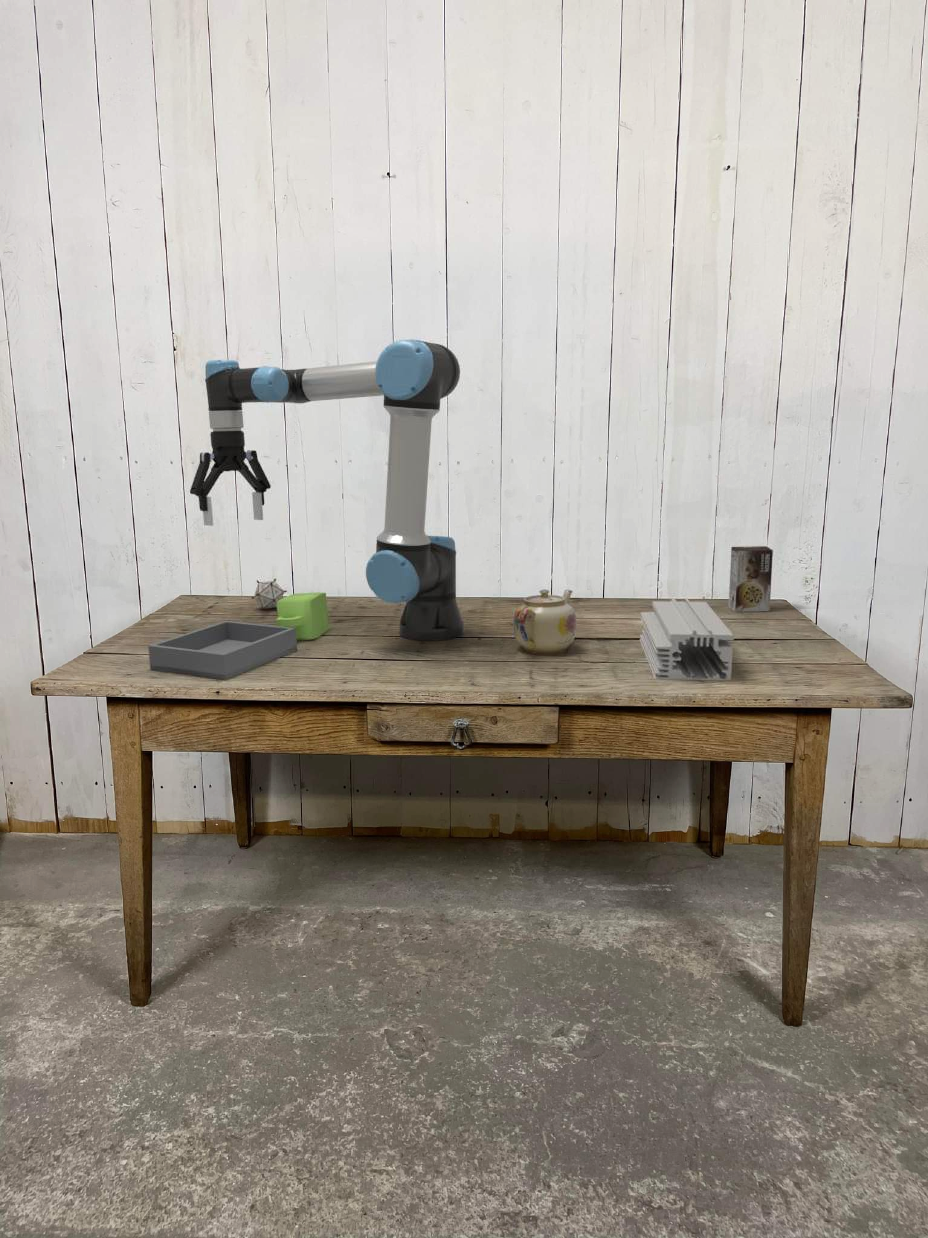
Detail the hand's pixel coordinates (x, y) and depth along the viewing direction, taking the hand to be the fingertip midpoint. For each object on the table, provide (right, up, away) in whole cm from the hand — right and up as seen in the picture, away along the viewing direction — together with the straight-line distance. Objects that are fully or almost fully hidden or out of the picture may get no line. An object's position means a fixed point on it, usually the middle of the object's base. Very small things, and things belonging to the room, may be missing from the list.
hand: (234, 522), depth 206 cm
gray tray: (+4, -31, -21) cm, 38 cm away
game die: (+2, -20, +27) cm, 34 cm away
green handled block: (+16, -26, 0) cm, 31 cm away
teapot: (+72, -29, -15) cm, 79 cm away
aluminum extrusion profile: (+99, -31, -24) cm, 107 cm away
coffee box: (+128, -20, +21) cm, 131 cm away
